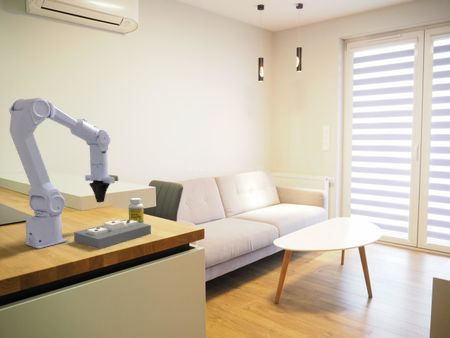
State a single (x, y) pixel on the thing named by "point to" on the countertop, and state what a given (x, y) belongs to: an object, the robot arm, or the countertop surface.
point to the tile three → (129, 223)
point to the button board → (111, 236)
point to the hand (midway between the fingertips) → (100, 202)
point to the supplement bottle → (136, 210)
